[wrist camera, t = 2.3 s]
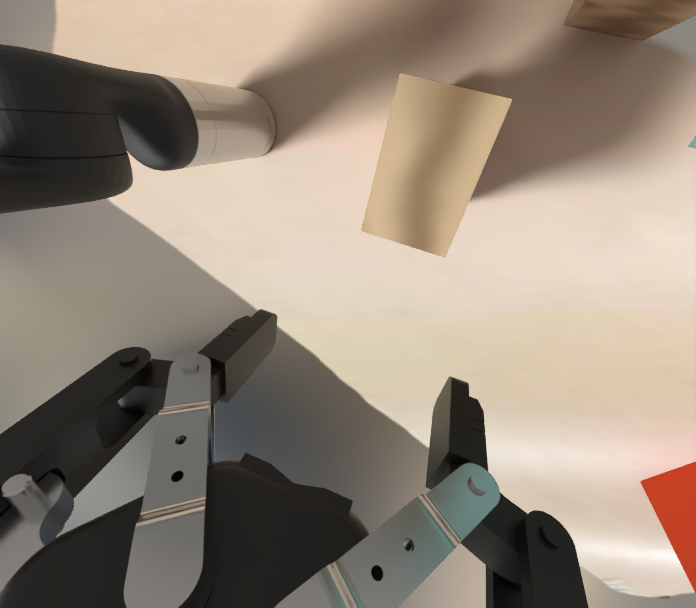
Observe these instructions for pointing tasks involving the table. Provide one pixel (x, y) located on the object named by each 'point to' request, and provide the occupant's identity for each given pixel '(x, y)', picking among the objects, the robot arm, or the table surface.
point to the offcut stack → (431, 161)
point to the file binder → (677, 512)
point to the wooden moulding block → (629, 16)
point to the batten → (693, 143)
